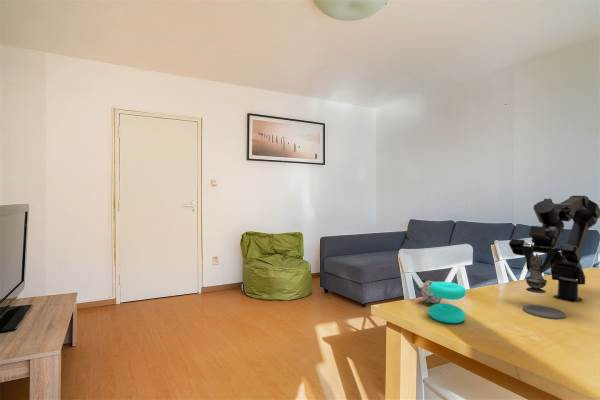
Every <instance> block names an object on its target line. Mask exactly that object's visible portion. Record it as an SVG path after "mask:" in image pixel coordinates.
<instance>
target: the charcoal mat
mask: <svg viewBox="0 0 600 400" xmlns="http://www.w3.org/2000/svg"><path fill="white" fill-rule="evenodd" d="M522 311H523V312H525V313H526V314H528V315H531V316H534V317H539V318H544V319H548V320H549V319H550V320H562V319H565V318H566V312H564V311H563V310H560V309H557V308H555V307H550V306H547V305H539V304H525V305H524V304H523V305H522Z"/></svg>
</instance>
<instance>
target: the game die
mask: <svg viewBox="0 0 600 400" xmlns="http://www.w3.org/2000/svg"><path fill="white" fill-rule="evenodd" d="M424 281H425V282H424V283H423V285H421V287H419V288H417V290H419V291H420V293H421V296H422V299H423V301H422V304H425V303H430V304H431V303H432V304H439V303H440V302H441V301H442V298H439V297H436V296H435V295H433V294H432V293H431V292H430V290H429V286H430V284H432V283H434V282H435V281H434V280H428V279H427V278H425V280H424ZM439 282H443V281H442V280H440V281H439Z"/></svg>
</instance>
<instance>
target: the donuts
mask: <svg viewBox="0 0 600 400" xmlns="http://www.w3.org/2000/svg"><path fill="white" fill-rule="evenodd" d="M429 290H430V292H431V293H432V294H433V295H435V296H436V297H439V298H442V299H444V300H449V301H450V300H451V301H453V300H454V301H456V300H460V299H462V298H465V296H466V294H467V290H466V288H465V286H462V285H461V284H459V283H455V282H450V281H442V282H440V281H434V283H432V284H430V286H429ZM442 299H441V300H442ZM428 314H429V316H430V317H431V318H432V319H434V320H435V321H438V322H440V323H445V324H459V323H462V322H464V321H465V319H466V313H465V311H464V310H463V309H462V308H461V307H459V306H456V305H454V304H450V303H443V302H442V303H440V302H439V304H435V303H433V304H432V305H430V306H429V308H428Z"/></svg>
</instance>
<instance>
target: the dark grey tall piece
mask: <svg viewBox="0 0 600 400" xmlns="http://www.w3.org/2000/svg"><path fill="white" fill-rule="evenodd" d="M542 265H543V258H542V257H540V256H539V254H538V252H535V254H534V256H533V257H532V258H531V267H530V274H529V276H528V277H525V278H524V280H525V282H526V285H527V286H528V287H527V288H525V290H526V291H527V292H529V293H530V292H531V293H536V294H546V293H547V291H546V290H544V289H543V288H545V287H546V285H547V283H548V280H546V279H545V278H544V277H543V273H541V267H542Z"/></svg>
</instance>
